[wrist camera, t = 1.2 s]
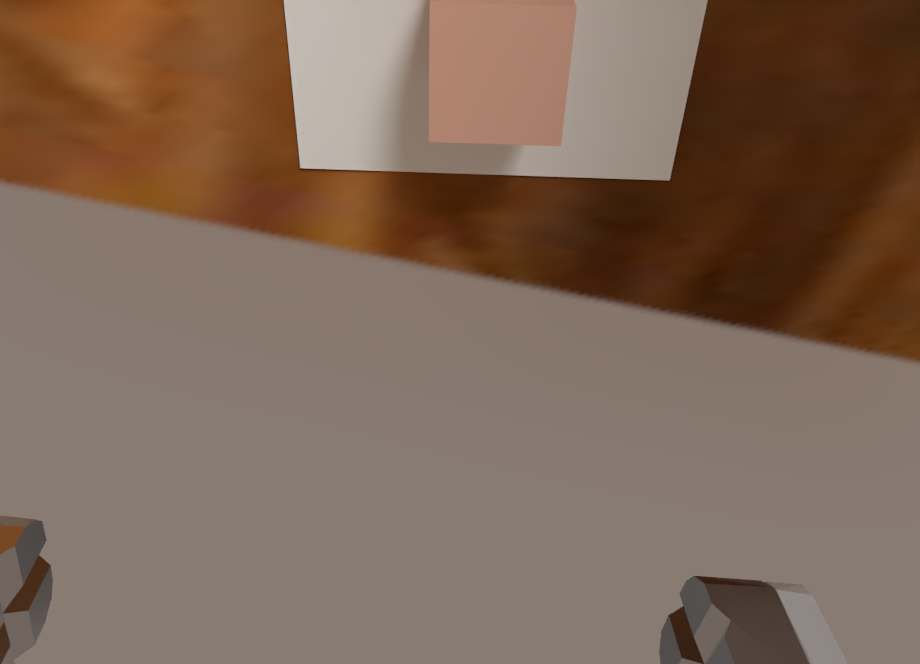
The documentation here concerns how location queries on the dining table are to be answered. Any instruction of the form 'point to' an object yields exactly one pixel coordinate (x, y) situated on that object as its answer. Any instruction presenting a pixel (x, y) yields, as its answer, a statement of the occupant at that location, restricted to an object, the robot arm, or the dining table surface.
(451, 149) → the mat
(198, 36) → the dining table surface
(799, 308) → the dining table surface
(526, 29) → the terracotta block
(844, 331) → the dining table surface
